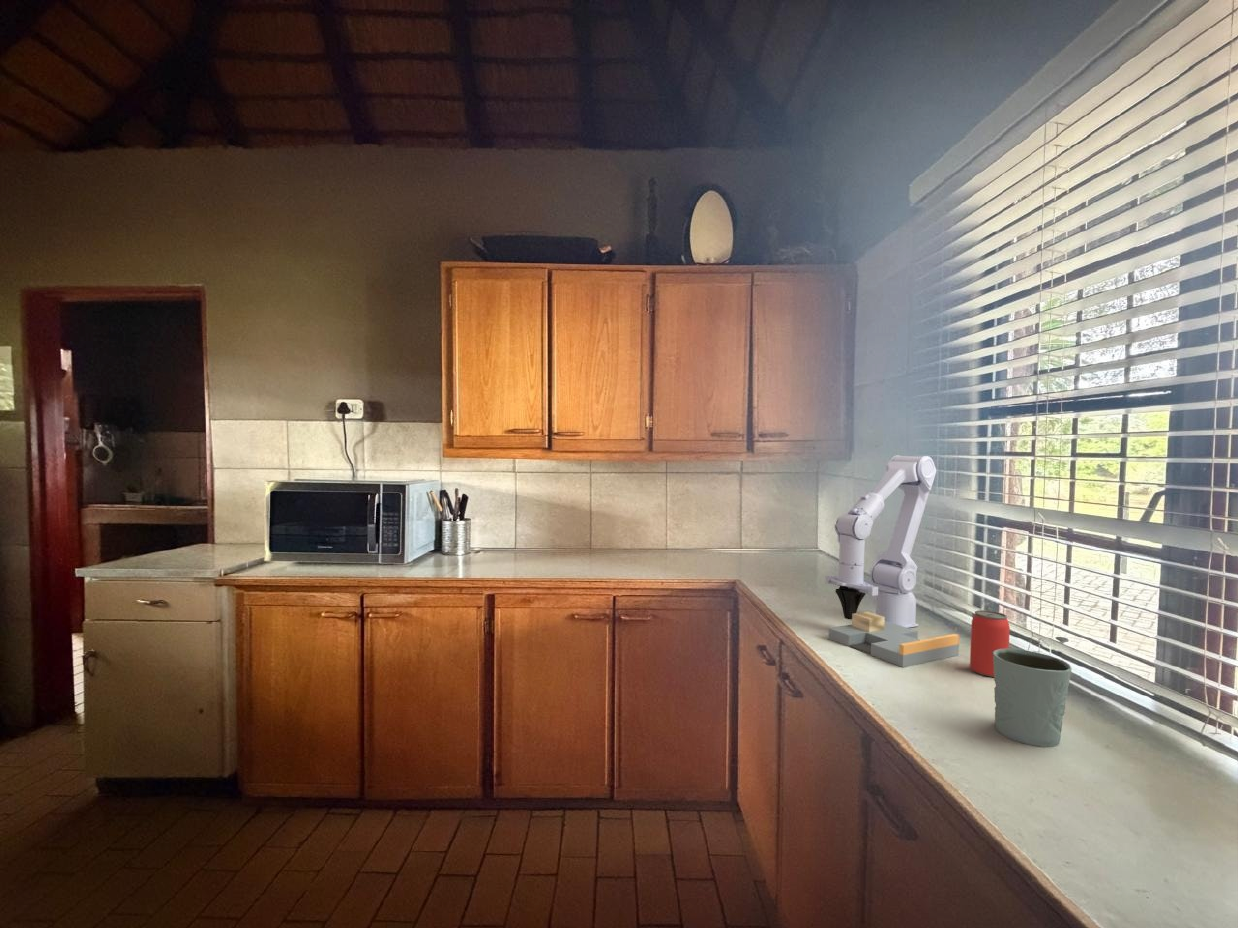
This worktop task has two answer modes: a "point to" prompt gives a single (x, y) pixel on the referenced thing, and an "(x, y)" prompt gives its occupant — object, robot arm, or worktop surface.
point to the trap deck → (897, 644)
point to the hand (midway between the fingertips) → (849, 618)
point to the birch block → (868, 621)
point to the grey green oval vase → (1030, 696)
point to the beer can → (987, 640)
